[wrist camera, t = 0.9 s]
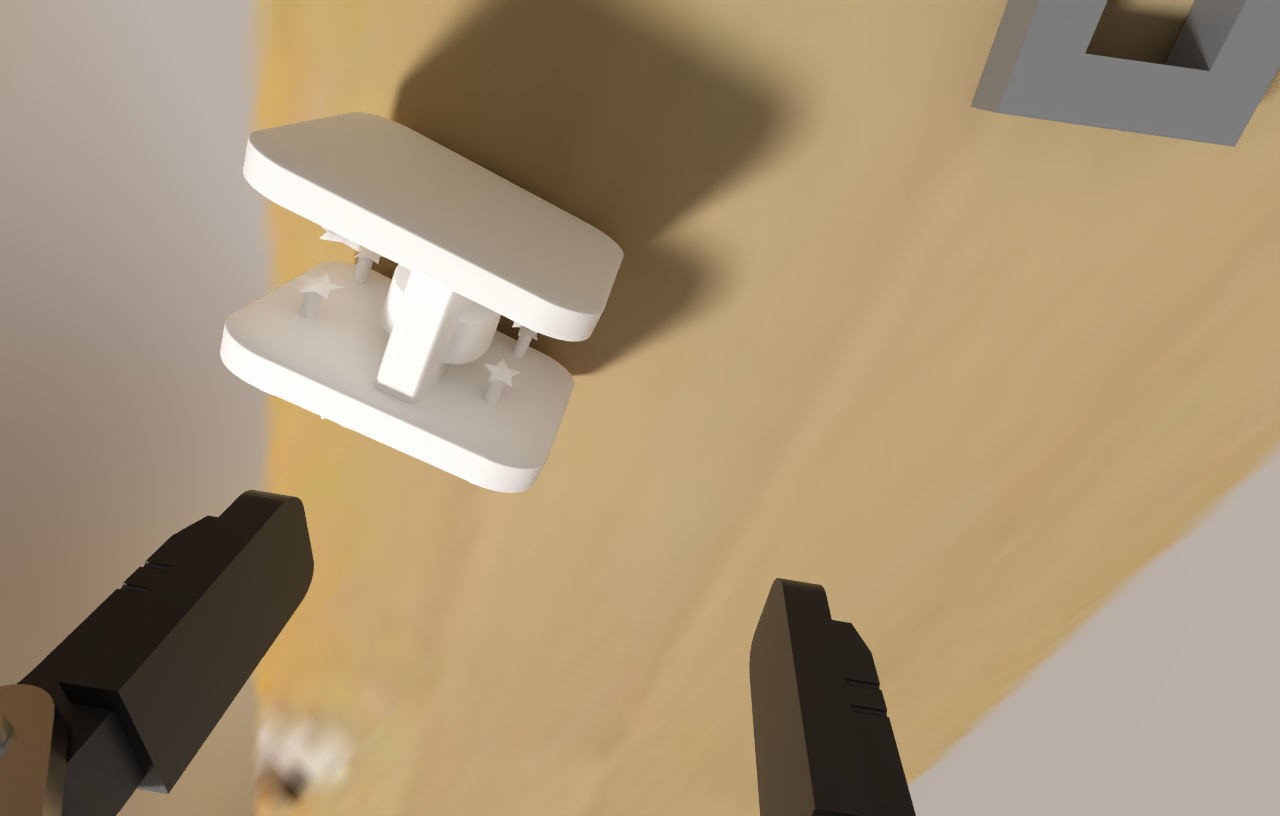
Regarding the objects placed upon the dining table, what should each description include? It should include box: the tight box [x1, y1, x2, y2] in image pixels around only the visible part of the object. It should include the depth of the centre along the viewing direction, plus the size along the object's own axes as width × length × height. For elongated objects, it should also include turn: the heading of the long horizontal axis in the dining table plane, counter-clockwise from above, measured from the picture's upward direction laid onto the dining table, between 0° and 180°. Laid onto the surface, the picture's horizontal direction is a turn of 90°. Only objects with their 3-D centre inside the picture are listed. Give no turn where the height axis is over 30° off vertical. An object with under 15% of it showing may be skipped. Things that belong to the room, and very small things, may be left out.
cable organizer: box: [220, 112, 624, 493], centre depth 30 cm, size 15×11×12 cm
